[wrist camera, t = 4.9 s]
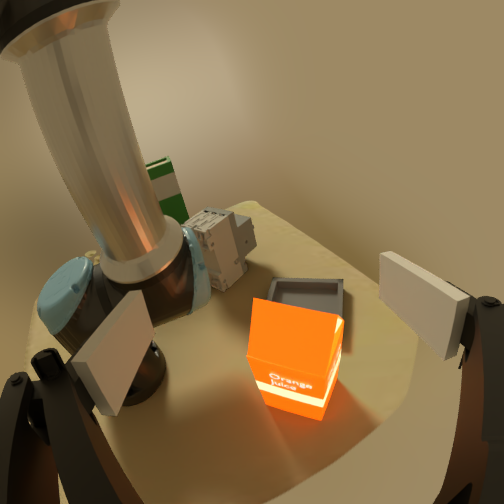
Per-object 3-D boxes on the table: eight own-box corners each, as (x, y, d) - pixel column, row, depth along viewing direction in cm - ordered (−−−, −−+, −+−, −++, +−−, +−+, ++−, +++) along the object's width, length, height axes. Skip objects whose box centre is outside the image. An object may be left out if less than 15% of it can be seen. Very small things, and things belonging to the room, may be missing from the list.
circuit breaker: (263, 254, 66) (252, 198, 57) (224, 292, 58) (204, 233, 49) (240, 247, 70) (226, 194, 62) (201, 281, 62) (179, 225, 54)
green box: (140, 262, 74) (106, 186, 60) (139, 249, 80) (109, 179, 66) (197, 240, 77) (171, 161, 63) (192, 229, 83) (168, 155, 69)
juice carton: (321, 421, 32) (327, 350, 21) (265, 404, 36) (232, 326, 25) (337, 377, 38) (348, 284, 26) (285, 364, 42) (267, 271, 30)
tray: (259, 337, 47) (257, 329, 45) (274, 286, 57) (272, 277, 55) (340, 342, 42) (341, 334, 41) (342, 288, 52) (343, 279, 51)
